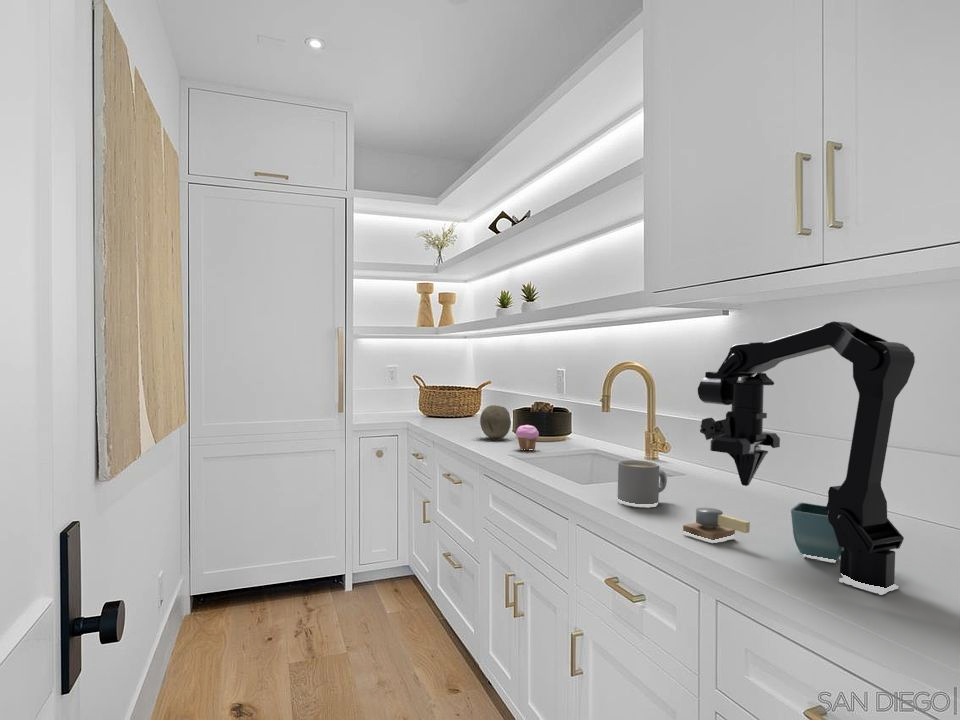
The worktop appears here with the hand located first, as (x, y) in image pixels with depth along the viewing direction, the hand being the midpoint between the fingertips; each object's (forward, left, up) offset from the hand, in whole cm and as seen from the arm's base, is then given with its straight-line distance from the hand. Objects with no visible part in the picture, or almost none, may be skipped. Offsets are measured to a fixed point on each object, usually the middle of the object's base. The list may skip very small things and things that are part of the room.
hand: (745, 485), depth 114 cm
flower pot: (-13, -4, -12) cm, 18 cm away
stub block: (+5, +4, -11) cm, 13 cm away
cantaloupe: (+141, -34, -12) cm, 146 cm away
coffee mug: (+31, -6, -12) cm, 34 cm away
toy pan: (+2, +4, -8) cm, 9 cm away
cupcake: (+111, -29, -12) cm, 116 cm away
